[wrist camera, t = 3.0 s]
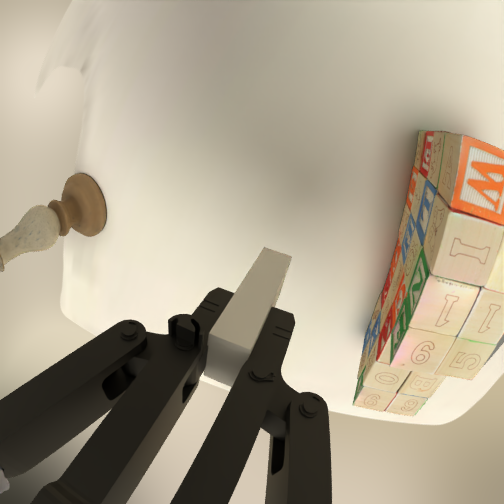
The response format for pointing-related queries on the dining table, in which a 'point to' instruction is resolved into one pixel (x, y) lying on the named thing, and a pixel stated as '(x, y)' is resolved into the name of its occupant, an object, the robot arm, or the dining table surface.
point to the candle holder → (57, 219)
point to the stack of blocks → (439, 277)
